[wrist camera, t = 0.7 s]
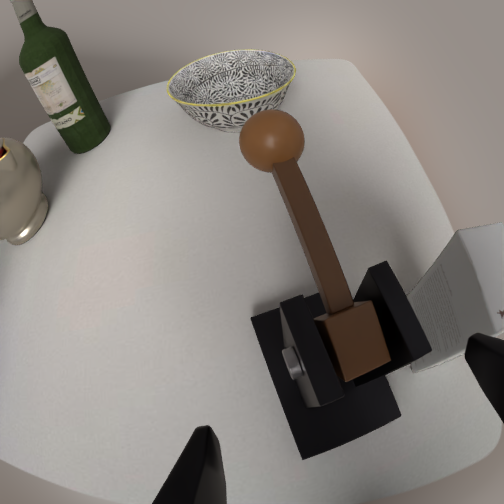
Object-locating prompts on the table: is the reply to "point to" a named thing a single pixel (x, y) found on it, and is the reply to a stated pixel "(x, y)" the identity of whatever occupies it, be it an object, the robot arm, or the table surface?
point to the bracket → (322, 371)
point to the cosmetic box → (461, 294)
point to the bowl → (231, 86)
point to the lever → (316, 246)
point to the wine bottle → (60, 81)
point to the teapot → (20, 193)
